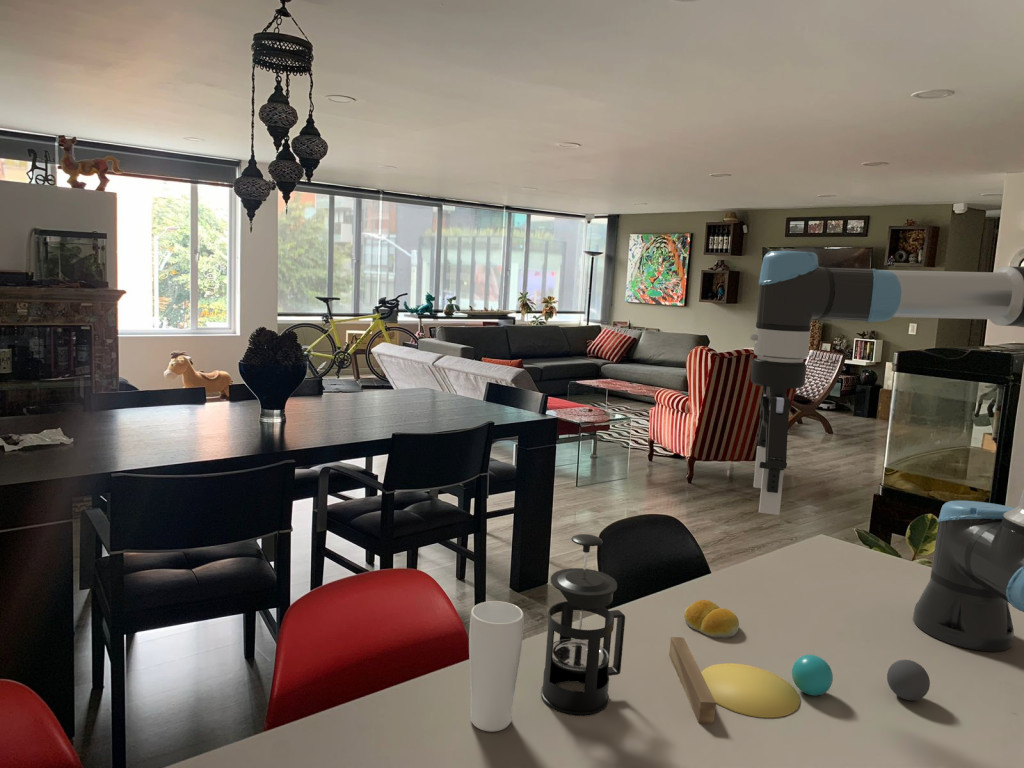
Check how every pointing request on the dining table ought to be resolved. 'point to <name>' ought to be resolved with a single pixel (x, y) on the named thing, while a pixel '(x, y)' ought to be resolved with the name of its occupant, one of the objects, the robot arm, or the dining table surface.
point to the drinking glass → (494, 662)
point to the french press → (582, 639)
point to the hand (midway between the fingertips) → (765, 499)
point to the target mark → (750, 690)
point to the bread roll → (711, 619)
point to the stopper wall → (692, 681)
